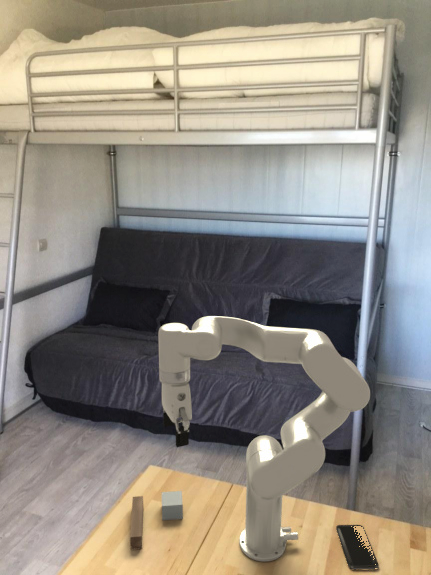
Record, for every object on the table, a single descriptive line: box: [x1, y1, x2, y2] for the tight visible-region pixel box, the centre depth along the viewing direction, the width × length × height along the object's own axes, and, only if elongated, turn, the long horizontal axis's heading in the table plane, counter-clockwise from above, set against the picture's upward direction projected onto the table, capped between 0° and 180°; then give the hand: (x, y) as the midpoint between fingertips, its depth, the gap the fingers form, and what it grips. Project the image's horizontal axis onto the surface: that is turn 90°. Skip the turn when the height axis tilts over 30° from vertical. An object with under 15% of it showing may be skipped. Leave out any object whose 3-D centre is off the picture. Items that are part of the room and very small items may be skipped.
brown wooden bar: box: [129, 495, 144, 550], centre depth 140 cm, size 3×16×4 cm, turn 7°
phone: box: [335, 524, 380, 571], centre depth 134 cm, size 8×1×15 cm
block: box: [161, 490, 184, 521], centre depth 146 cm, size 6×6×5 cm
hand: (175, 435), depth 126 cm, fingers open, 9 cm apart
